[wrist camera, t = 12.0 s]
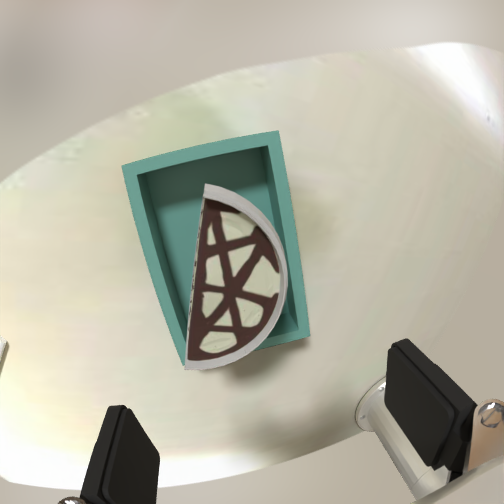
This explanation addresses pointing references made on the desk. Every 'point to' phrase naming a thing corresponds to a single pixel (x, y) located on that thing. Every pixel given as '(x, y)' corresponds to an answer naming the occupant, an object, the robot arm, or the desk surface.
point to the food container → (233, 281)
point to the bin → (188, 214)
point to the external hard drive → (2, 346)
